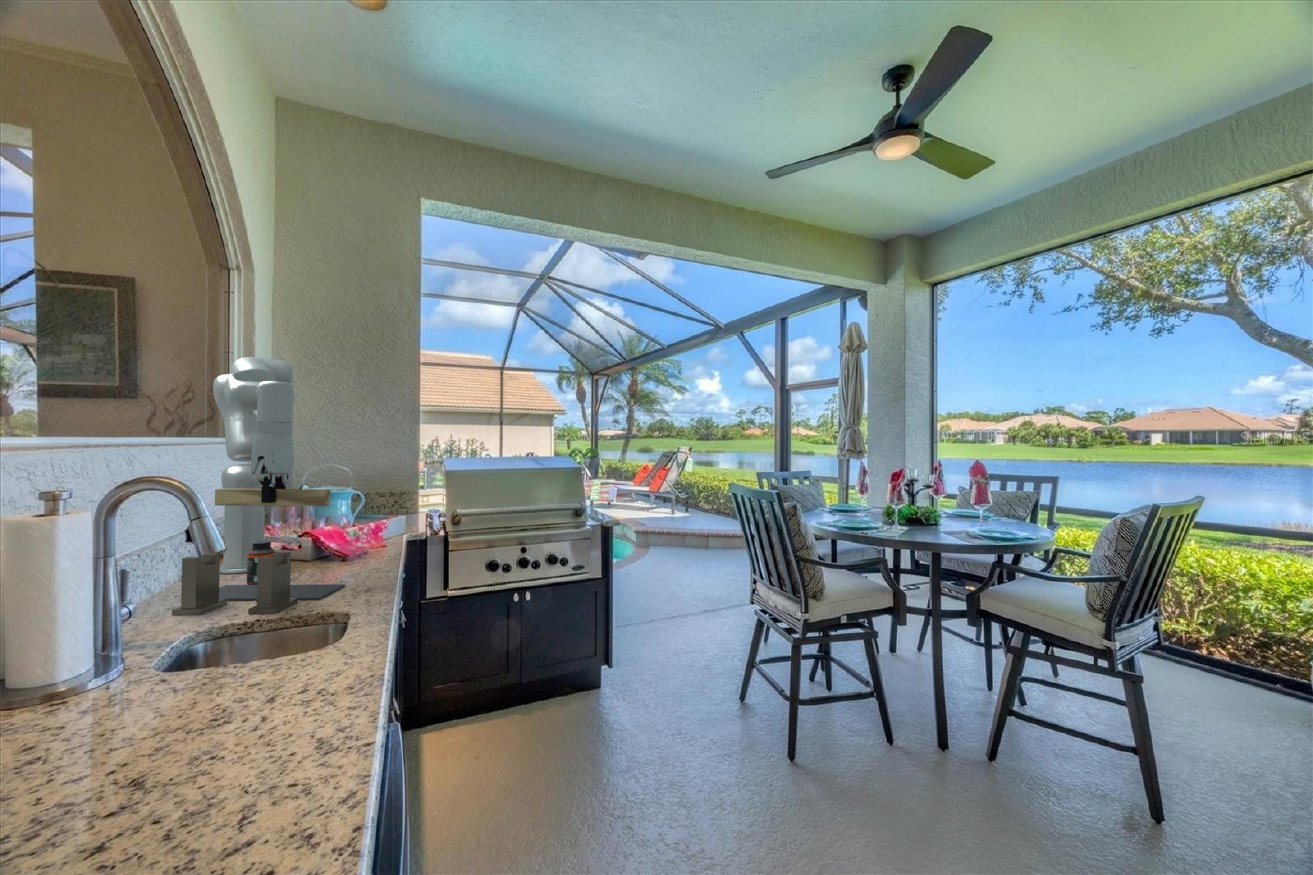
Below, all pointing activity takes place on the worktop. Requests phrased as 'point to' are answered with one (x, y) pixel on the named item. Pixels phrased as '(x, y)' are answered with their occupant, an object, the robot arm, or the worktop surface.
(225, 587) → the mat
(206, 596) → the rail stands
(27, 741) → the worktop surface
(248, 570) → the supplement bottle
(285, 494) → the rail
